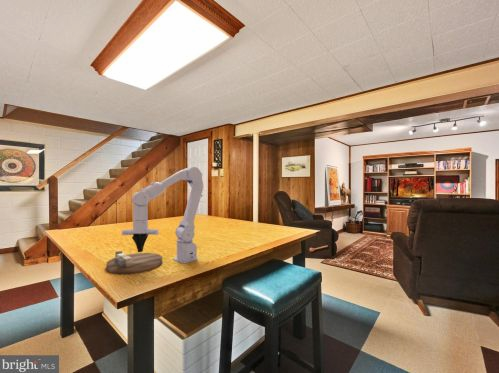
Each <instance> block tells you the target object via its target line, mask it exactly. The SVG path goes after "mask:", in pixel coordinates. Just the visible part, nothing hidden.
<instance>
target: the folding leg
mask: <svg viewBox="0 0 499 373" xmlns="http://www.w3.org/2000/svg"><path fill="white" fill-rule="evenodd" d="M114 254H115V257H121V258H123V259H125V260H126V267H130V266H133V258H131V257H129V256H128V254H125V253H123V251H122V250H118V251H115V252H114ZM115 257H114V258H115Z"/></svg>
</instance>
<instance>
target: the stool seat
mask: <svg viewBox="0 0 499 373" xmlns="http://www.w3.org/2000/svg"><path fill="white" fill-rule="evenodd" d="M127 255H128V256H129V257H131V258H133V266H130V267H126V260H125V259H123V258H121V257H113V258H112V259H110V260H108V261H107V262H106V263H105V264H106V265H105V266H106V267H105V268H106V271H107V272H109V273H111V274H115V275H117V274H118V275H132V274H139V273H140V274H141V273H143V272H144V273H145V272H149V271H152V270H154V269H156V268H159V267H160V266H161V265H162V264H163V256H162V255H160V254H158V253H155V252H154V253H153V252H150V253H149V252H136V253H129V254H127Z"/></svg>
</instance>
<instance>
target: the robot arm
mask: <svg viewBox="0 0 499 373" xmlns="http://www.w3.org/2000/svg"><path fill="white" fill-rule="evenodd" d="M182 180H183V181H185V182H187V183H188V185H189V186H190V188H191V190H190V193H189V197H188V200H187V204H186V207H185V210H184V214H183V217H182V220H181V221H180V222H179V224H178V226H177V227H176V229H175V232H174V234H175V237H177V239H176V256H175V257H173V258H172V260H173V261H176V262H178V263H182V264H188V263H191V262H195V261H198V260H199V258H197V251H198V247H197V244H196V243H195V242H193V240H194V237H195V227H196V226H195V218H196V215H197V212H198V209H199V205H200V201H201V197H202V194H203V190H204V182H203V173H202V171H201V170H200V169H199V168H198V167H197V166H192V167H185V168H183V169H181V170H179V171H177V172H175V173H174V174H172V175H170V176H168V177H167V178H166V179H164V180H162V181H161V182H159V181H155V182H154V181H152V182H150V185H148V186H146V187H145V188H143V187H142V188H140V191H137V192H135V193H134V194H133V195H132V197H131V202H132V203H133V209H132V229H122V230H121V236H130V235H131V238H132V240H133V242H134V244H135V246H136V249H137V250H136V251H137V253H143V251H144V247H145V243H146V241H147V239H148V237H149V235H151V236H153V235H155V236H157V235H159V233H160V232H159V230H160V229H155V228H154V229H153V228H152V229H151V228H150V229H149V228H148V227H149V226H148V224H149V218H148V215H149V213H148V210H149V209H148V204H149V202H150V201H151V200H153V199H155V198H157V197H159V196H160V195H162V194H163V193H165V192H164V191H165V189H166V188H168V187H170V186H172V185H174V184H175V183H177V182H179V181H182Z"/></svg>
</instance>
